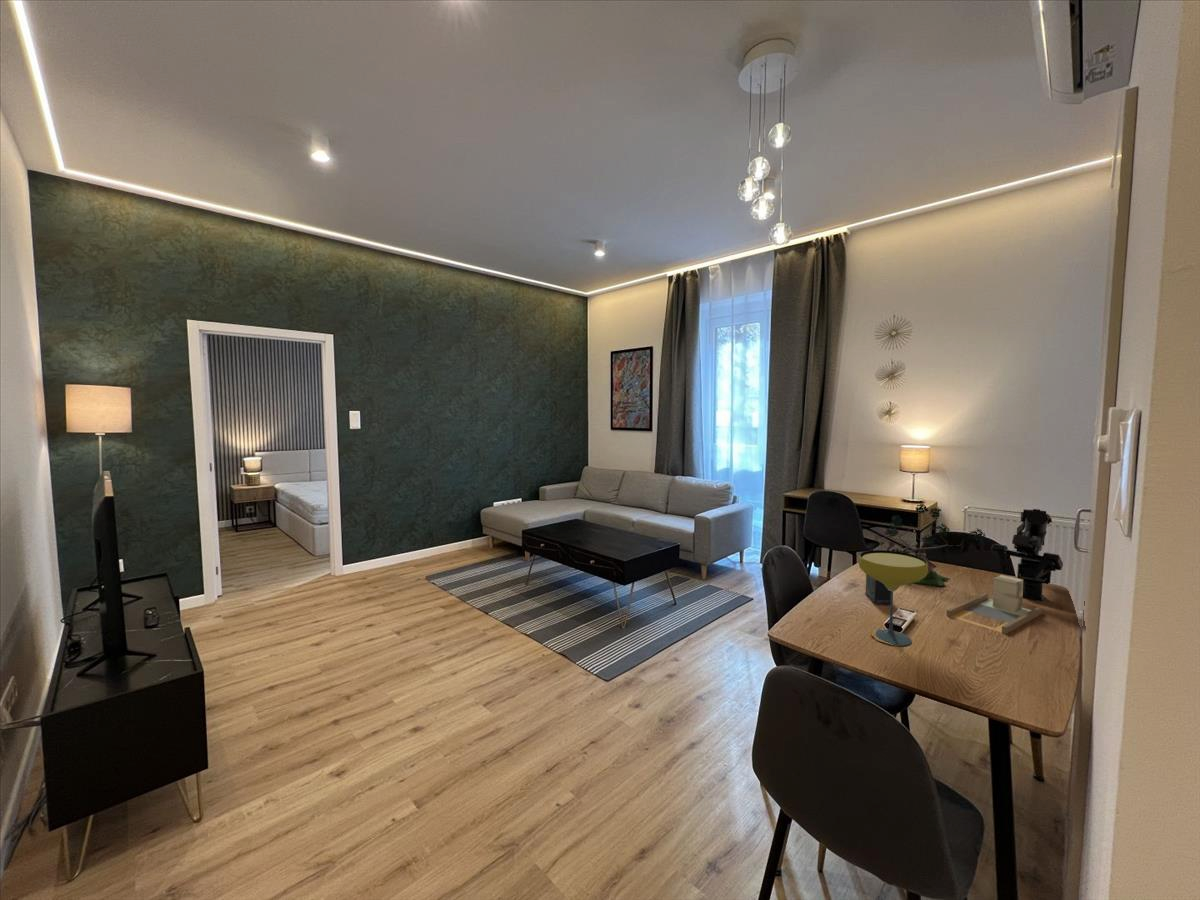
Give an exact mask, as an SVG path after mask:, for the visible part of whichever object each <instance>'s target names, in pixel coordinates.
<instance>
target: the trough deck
mask: <svg viewBox="0 0 1200 900" xmlns="http://www.w3.org/2000/svg"><path fill="white" fill-rule="evenodd" d="M972 614H977V615H980V616H983V617H987V618H991V619H994V620H997V621H1001V622H1004V623H1002V624H999V626H997V627H993V626H989V625H985V624H983V623H982V624H981V623H980V622H976V621H972V620H969V619H966V617H967V616H969V615H972ZM1040 615H1043V607H1041V606H1037V607H1035V608H1033V609H1028V608H1026V607H1025V608H1024V607H1022V609H1020V610H1019V611H1017V612H1015V613H1014V612H1010V611H1006V610H1003V609H999V608H995V607H993V599H991V598H989V593H987V592H984V593H981V594H978V595H977V596H975V597H972V598H970V599H968V600H966V601H964V602H961V603H960V604H959V603H958V604H957V605H955V606H952V607H950V608H948V609H946V617H949V618H952V619H955V620H958V621H961V622H965V623H968V624H971V625H975V626H979V627H980V628H981V627H982V628H984V629H987V630H991V631H994V632H997V633H1001V634H1004V635H1007V634H1008V633H1009V634H1010V632H1012V631H1014V630H1016V629H1018V628H1020V627H1021V626H1023V625H1025V624H1026V623H1028V622H1030V621H1031V620H1033V619H1035V618H1037V617H1038V616H1040Z"/></svg>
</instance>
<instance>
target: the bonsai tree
mask: <svg viewBox="0 0 1200 900" xmlns="http://www.w3.org/2000/svg"><path fill="white" fill-rule="evenodd" d="M929 511H930V512H929ZM941 511H942V509H940V508H939V507H933V508H930V509H929V508H928V507H927V506H926V505H925V504H924V503H919V504H917V505H916V507H915V511H914V512H915V513H916V514H917V513H918V514H922V515H923V517H924V518H925V519H926V521H927V522H928V524H929V525H930V527H931V528H932V529H933V530H934V531H935V533H936V534H938V535H939V537H940V538H942V539H943V541H944V542H945V544H944V545H937V544H935V543H934V542H936V539H935V537H933V536H931V535H930V534H926V535H924V536H923V537H921V539H920V538H918V535H917V534H915V537H916V539H918V540H919V541H920V542H922V543H925V544H924V545H923V546H922V547H921V548H920V547H919V546H918V545H919V543H918V541H915V544H913V545H909V543H907V542H906V541H904V540H902V539H901V537H902V536H903V535H905V534H907V533H908V532H909V531H910V530H911V528H910V527H909V526H908V525H911V526H912V524H911V523H908V522H907V523H908V525H906V527H907V528H908V530H907V531H905V532H903V533H902V534H900V535H899V537H898V539H899V541H901V542H902V543H903V544H905V545H906V547H905V548H904V549H902V550H901V549H899V548H896V549H895V548H892V547H893V546H894V543H893V542H892V541H891V540H889V539H887V538H891V537H896V536H898V534H899V533H900V532H899V531H898V528H902V527H903V526H904V524H903V520H904V519H903V518H902V517H901V515H900V514H898V515H893V516H892V517H891V521H890V524H889V527H888V528H885V532H884V534H885V535H887V536H883V537H881V539H882V540H883V541H885V542H887V543H890V545H889V546H888V547H887V548H886V550H887V551H897V552H903V553H908V554H912V555H916V556H918V555H920V557H921V558H923V559H925V560H926V561H927V563H928V573H927V575H926V577H925V578H923V579H921V580H920V581H917V582H914V583H913V584H917V585H918V584H919V585H928V586H929V585H930V586H935V587H939V588H943V586H944V585H945V582H944V580H945V581H949V580H950V578H949V577H947V576H946V577H945V576H943V575H941V574H939V573H938V572H937V570H934V569H935V568H937V567H938V566H937V565H936V564H935V563H933V562H932V561H931V560H929V559H928V558H927V551H929V550H936V549H943V548H946V547H947V546H948V547H952V545H949V543H948V541H947V540H946V539H945V538H944V537H945V536H947V535H948V533H949V532H950V530H951V529H950V528H949V527H947V525H946V524H945V523H940V525H936V526H935V524H936V522H938V518H939V517H940V516H941V514H940V512H941ZM925 512H928V514H929V515H930V516H931V518H933V519H936V521H935V522H934V523H933V526H932V525H931V523H930V522H929V520H928V519H927V518H926V515H925V514H924V513H925ZM891 524H892V525H891ZM913 528H914V531H915V533H917V531H916V529H915V527H913ZM937 530H938V531H939V532H938V531H937ZM968 533H969V535H973V538H972V539H974V540H976V541H977V542H979V541H980V542H983V539H984V538H985V537H987V536H986V533H985V532H983V530H982V529H980V528H978V527H977V528H976V529H975V530H974V531H973V530H972V531H971V530H970V531H969V532H968ZM963 542H964V540H962V542H961V543H960V545H957V547H960V546H961V545H962V544H963ZM926 544H928V545H930V547H925V545H926ZM914 547H915V548H914ZM910 548H914V549H910ZM890 549H891V550H890ZM916 552H921V553H916Z"/></svg>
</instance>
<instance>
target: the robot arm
mask: <svg viewBox="0 0 1200 900" xmlns="http://www.w3.org/2000/svg"><path fill="white" fill-rule="evenodd" d="M1020 522H1022V523H1021V524H1020V525H1019V526H1018V527H1016V534H1013V536H1012V540H1011V544H1012V545H1014V546H1013V547H1014V549H1015V550H1012V549H1009V548H1008V546H1007V545H1005V544H1004V545H1003V544H1000V543H993V544H992V545H991V547H990V551H991V553H992V555H993V556H994V558H996V559H997V560H998V561H999V570H1000V573H1001V574H1004V572H1005V570H1006V568H1007V566H1008V563H1009V560H1008V559H1010V557H1014V558H1015V557H1016V558H1021V559H1020V560H1019V561H1020V562H1019V563H1017V570H1016V571H1017V573H1016V578H1018V579H1023V598H1024V599H1028V600H1033V601H1038V602H1039V601H1040V602H1043V601H1044V598H1045V595H1044V594H1043V585H1045V584H1046V585H1048V584H1051V578H1052V572H1056V571H1061V570H1062V569H1063V567H1064V566H1063V565H1064V563H1063V560H1062V557H1061V556H1060V554H1057V553H1053V552H1052V553H1050V552H1044V553H1043V554H1042V555H1040V554H1039V553H1040V552H1041V551H1042V550H1043V549H1042V548H1043V546H1045V538H1046V535H1047V527H1048V525H1050V523H1052V522H1053V521H1052V518H1051V516H1050V514H1049V513H1047V511H1046V510H1041V509H1037V508H1032V509H1025V508H1023V511H1020Z"/></svg>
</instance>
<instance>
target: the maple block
mask: <svg viewBox="0 0 1200 900" xmlns="http://www.w3.org/2000/svg"><path fill="white" fill-rule="evenodd" d="M992 590H993V591H992V592H993V593H992V600H993V607H995V608H999V609H1003V610H1006V611H1010V612H1014V613H1015V612H1017V611H1019V610H1020V609H1022V608H1023V579H1018V578H1017V577H1014V576H1008V575H1004V574H1000V575H998V576H995V577H993V588H992Z"/></svg>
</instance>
